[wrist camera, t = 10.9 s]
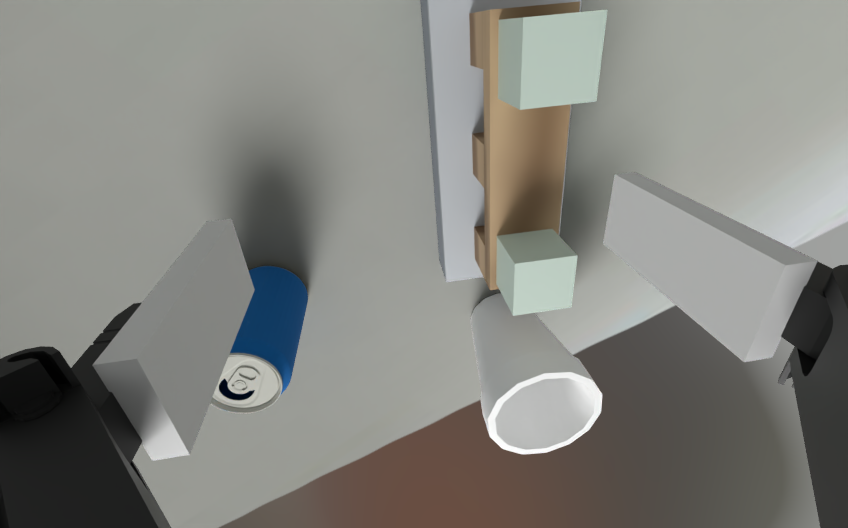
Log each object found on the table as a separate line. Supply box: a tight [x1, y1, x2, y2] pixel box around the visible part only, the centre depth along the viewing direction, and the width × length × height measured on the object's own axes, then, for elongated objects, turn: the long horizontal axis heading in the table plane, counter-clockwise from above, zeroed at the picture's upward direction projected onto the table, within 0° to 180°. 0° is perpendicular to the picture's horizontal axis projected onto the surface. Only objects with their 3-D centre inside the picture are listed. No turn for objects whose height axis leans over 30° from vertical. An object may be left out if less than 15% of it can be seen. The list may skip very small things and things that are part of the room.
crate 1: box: [498, 9, 608, 110], centre depth 21 cm, size 4×4×4 cm
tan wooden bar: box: [469, 1, 580, 290], centre depth 29 cm, size 5×18×5 cm, turn 5°
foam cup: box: [470, 293, 602, 454], centre depth 38 cm, size 10×9×13 cm
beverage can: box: [210, 266, 308, 414], centre depth 34 cm, size 6×6×12 cm
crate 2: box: [496, 229, 578, 316], centre depth 28 cm, size 4×4×4 cm
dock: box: [421, 0, 582, 282], centre depth 32 cm, size 10×22×4 cm, turn 5°
